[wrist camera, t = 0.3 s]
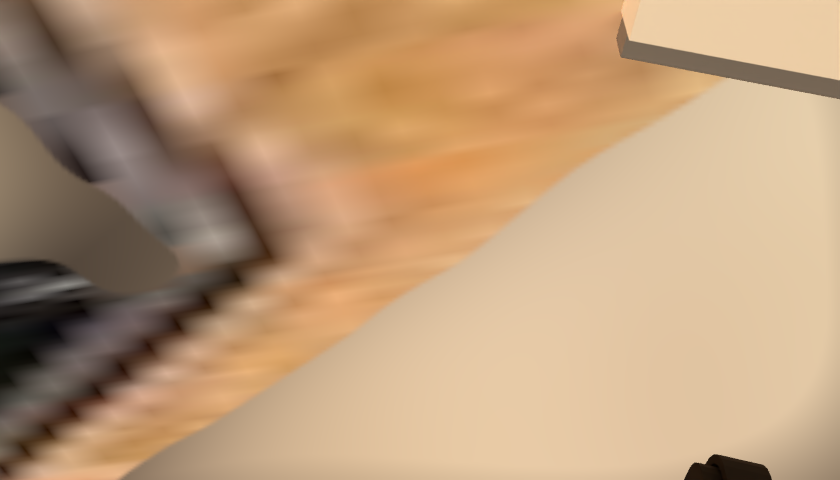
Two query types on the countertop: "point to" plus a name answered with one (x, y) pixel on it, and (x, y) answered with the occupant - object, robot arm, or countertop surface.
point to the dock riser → (739, 40)
